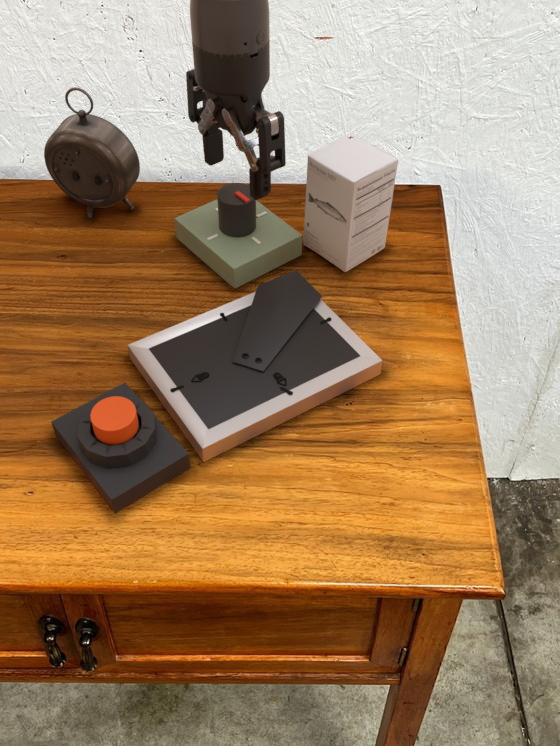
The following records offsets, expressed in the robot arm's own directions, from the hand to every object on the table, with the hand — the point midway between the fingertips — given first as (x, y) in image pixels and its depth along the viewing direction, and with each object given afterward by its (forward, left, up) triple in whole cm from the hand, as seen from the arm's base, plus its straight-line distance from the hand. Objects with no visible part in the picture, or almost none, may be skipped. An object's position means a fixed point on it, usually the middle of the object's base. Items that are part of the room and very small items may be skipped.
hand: (236, 178), depth 87 cm
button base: (+18, -27, -10) cm, 34 cm away
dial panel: (0, 0, -10) cm, 10 cm away
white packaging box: (+8, +10, -10) cm, 16 cm away
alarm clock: (-17, -9, -10) cm, 22 cm away
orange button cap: (+18, -27, -6) cm, 33 cm away
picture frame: (+17, -11, -10) cm, 22 cm away
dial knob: (0, 0, -7) cm, 7 cm away
